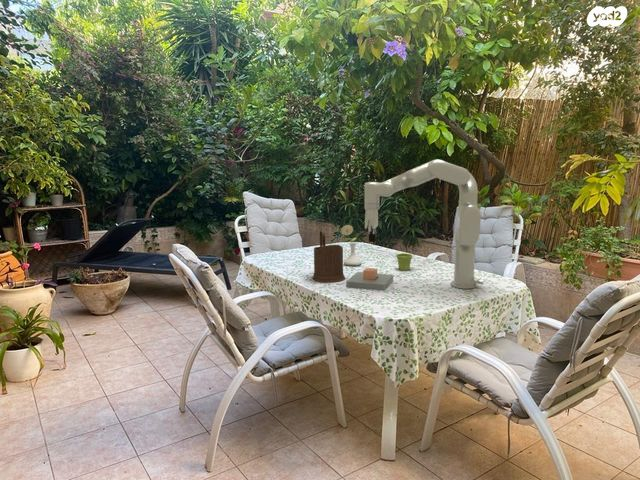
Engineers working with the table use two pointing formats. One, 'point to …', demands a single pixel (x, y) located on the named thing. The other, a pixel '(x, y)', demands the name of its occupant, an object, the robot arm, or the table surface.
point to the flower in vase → (352, 258)
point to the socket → (370, 281)
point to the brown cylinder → (328, 262)
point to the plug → (370, 273)
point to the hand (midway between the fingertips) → (372, 241)
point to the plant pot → (404, 261)
